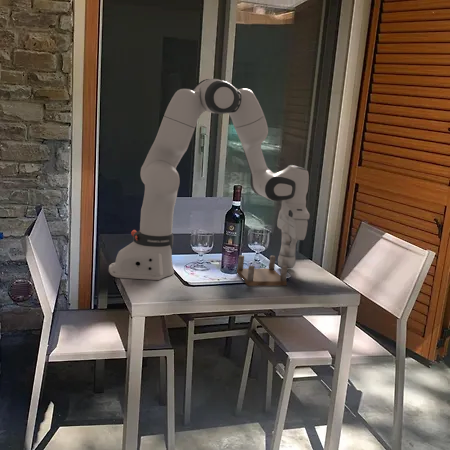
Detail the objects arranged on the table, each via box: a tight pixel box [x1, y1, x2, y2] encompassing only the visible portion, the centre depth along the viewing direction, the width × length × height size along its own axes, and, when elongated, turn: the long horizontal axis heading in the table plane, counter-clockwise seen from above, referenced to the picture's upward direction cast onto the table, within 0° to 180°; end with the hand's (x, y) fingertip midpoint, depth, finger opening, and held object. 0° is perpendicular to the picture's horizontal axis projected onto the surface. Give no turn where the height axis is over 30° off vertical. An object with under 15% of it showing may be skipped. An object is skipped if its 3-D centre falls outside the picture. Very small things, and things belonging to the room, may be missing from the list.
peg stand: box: [236, 254, 289, 287], centre depth 203 cm, size 14×14×6 cm
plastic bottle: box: [277, 219, 297, 269], centre depth 215 cm, size 6×7×20 cm
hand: (288, 245), depth 215 cm, fingers closed on plastic bottle, 6 cm apart
